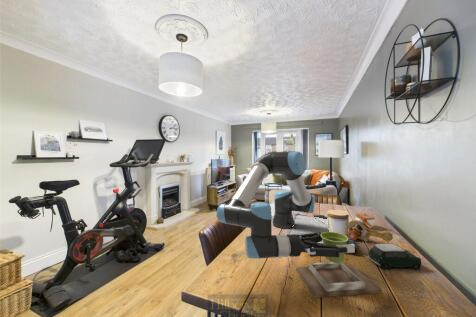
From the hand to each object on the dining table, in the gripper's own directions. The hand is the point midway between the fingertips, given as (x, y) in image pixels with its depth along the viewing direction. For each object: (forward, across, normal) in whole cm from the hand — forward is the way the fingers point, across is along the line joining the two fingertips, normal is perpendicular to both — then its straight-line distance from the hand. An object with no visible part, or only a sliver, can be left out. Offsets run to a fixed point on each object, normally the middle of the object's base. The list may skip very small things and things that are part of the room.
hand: (345, 242), depth 74 cm
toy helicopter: (+32, -30, -14) cm, 46 cm away
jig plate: (-4, 0, -14) cm, 15 cm away
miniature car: (+27, -8, -14) cm, 32 cm away
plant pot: (-5, 0, -6) cm, 8 cm away
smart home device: (+28, -67, -14) cm, 74 cm away
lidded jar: (+46, -51, -14) cm, 70 cm away
